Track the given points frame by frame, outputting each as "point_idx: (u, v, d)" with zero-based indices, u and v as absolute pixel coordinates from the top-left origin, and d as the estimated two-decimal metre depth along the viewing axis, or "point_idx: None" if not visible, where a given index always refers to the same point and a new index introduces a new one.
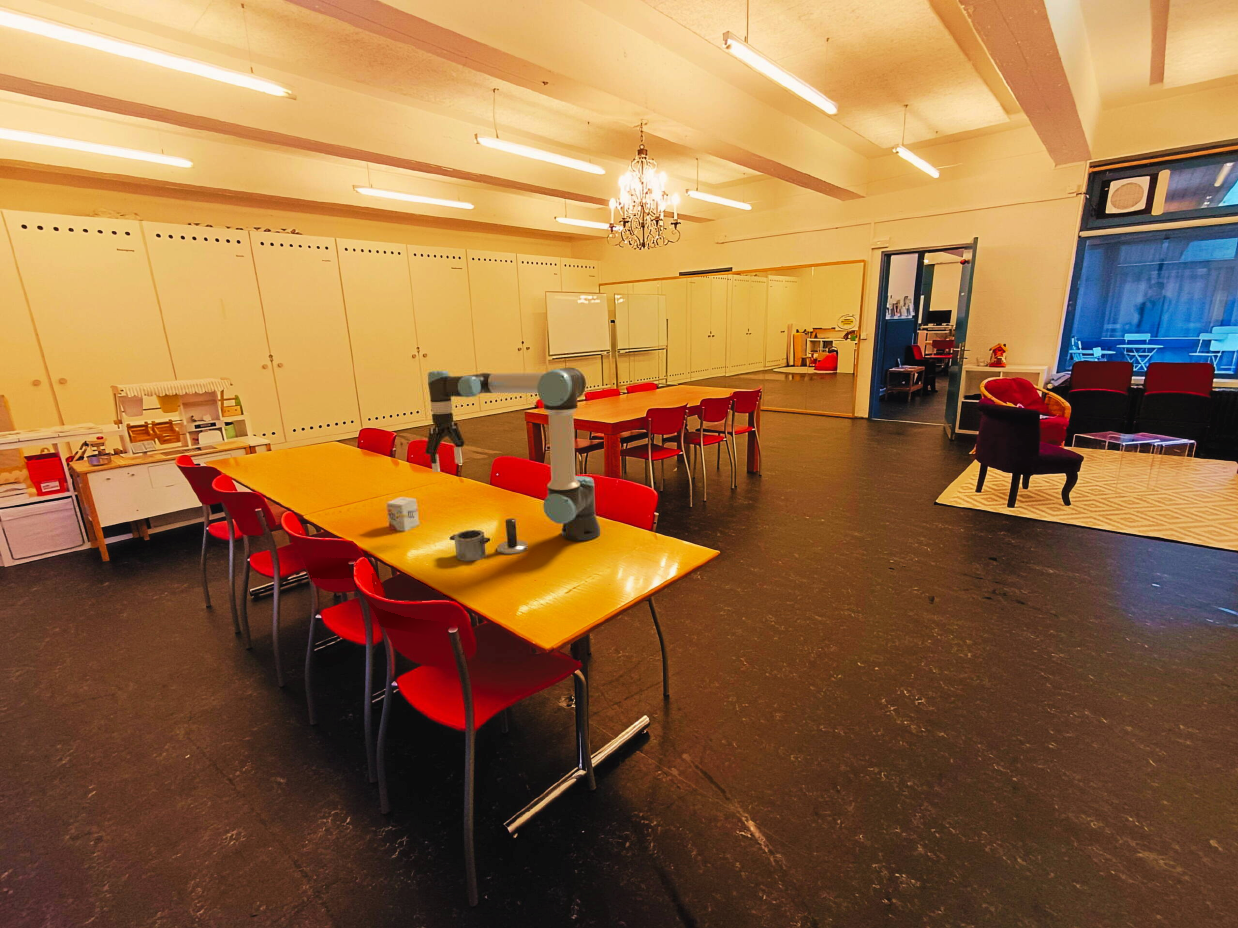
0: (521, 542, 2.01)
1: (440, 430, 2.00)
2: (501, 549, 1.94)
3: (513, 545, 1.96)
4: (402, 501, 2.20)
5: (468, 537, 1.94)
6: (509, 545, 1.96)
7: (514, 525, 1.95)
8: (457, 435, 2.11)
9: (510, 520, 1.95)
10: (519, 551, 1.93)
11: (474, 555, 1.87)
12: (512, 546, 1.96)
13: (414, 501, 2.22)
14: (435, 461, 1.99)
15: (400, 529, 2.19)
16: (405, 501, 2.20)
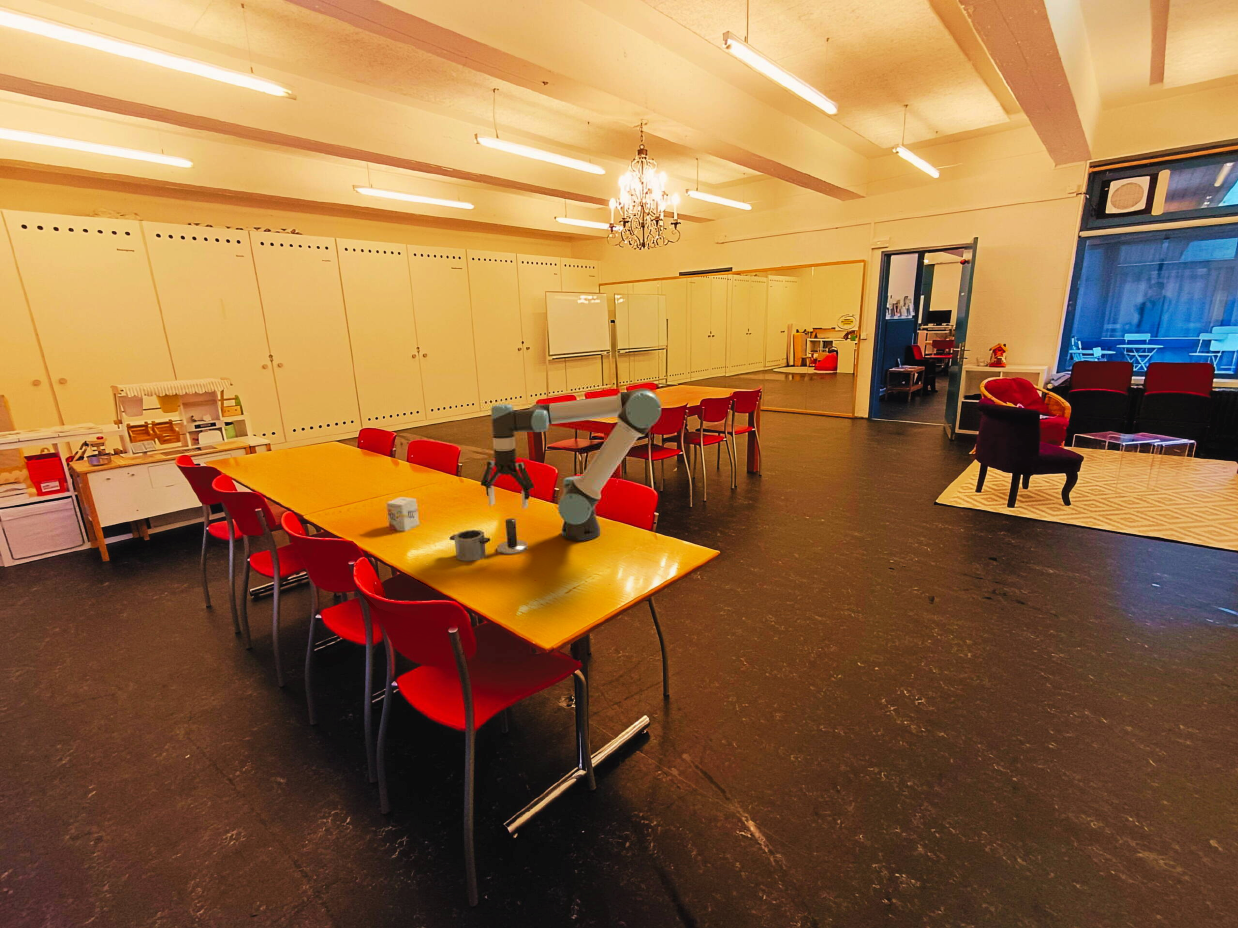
0: (521, 542, 2.01)
1: (496, 465, 1.91)
2: (501, 549, 1.94)
3: (513, 545, 1.96)
4: (402, 501, 2.20)
5: (468, 537, 1.94)
6: (509, 545, 1.96)
7: (514, 525, 1.95)
8: None
9: (510, 520, 1.95)
10: (519, 551, 1.93)
11: (474, 555, 1.87)
12: (512, 546, 1.96)
13: (414, 501, 2.22)
14: None
15: (400, 529, 2.19)
16: (405, 501, 2.20)
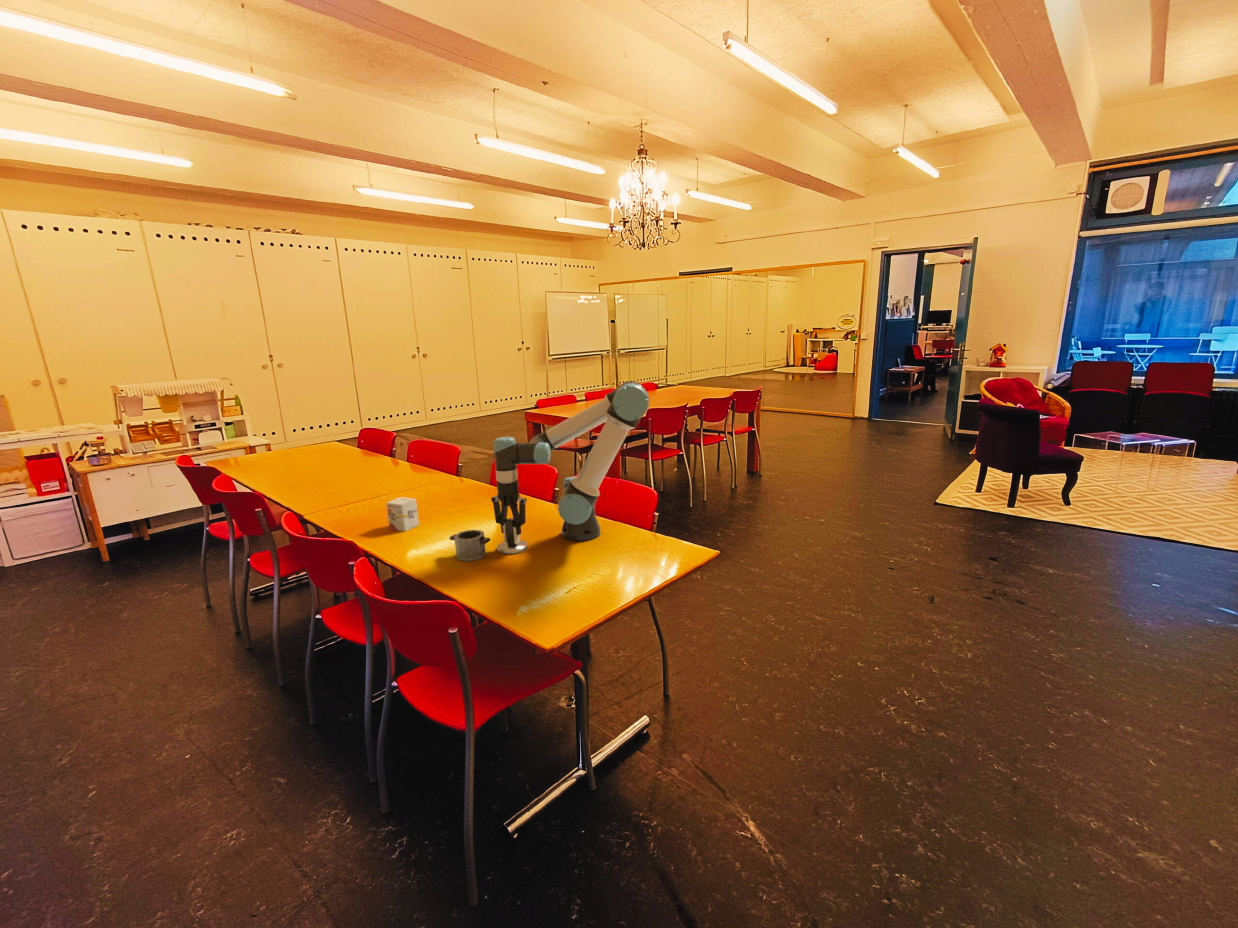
0: (521, 541, 2.01)
1: (499, 497, 1.93)
2: (501, 549, 1.94)
3: (513, 545, 1.96)
4: (402, 501, 2.20)
5: (468, 537, 1.94)
6: (509, 545, 1.96)
7: (514, 525, 1.95)
8: None
9: (510, 520, 1.95)
10: (519, 551, 1.93)
11: (474, 555, 1.87)
12: (512, 546, 1.96)
13: (414, 501, 2.22)
14: None
15: (400, 529, 2.19)
16: (405, 501, 2.20)
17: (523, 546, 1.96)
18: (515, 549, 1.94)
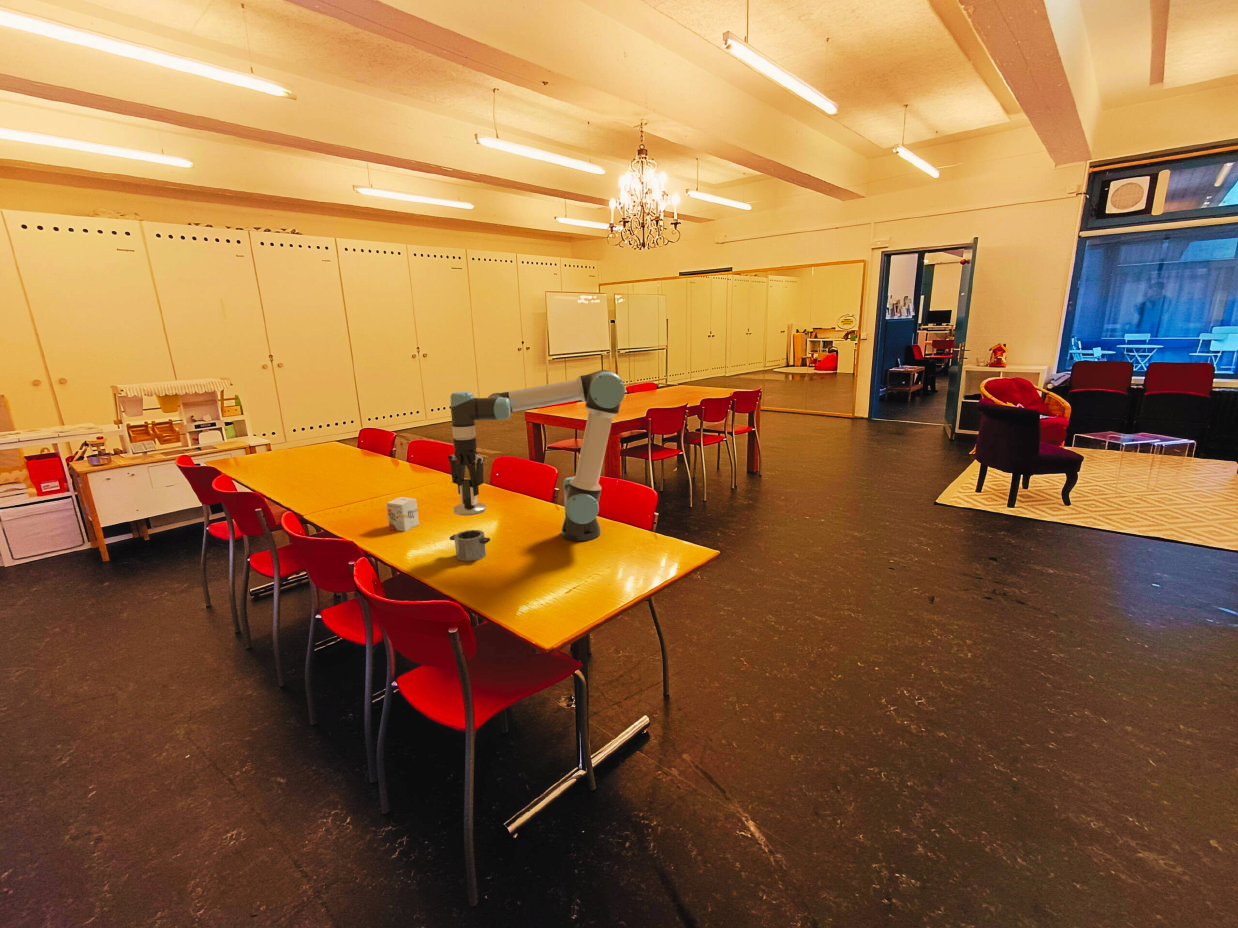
0: (479, 504, 1.92)
1: (456, 456, 1.84)
2: (457, 510, 1.85)
3: (470, 506, 1.87)
4: (402, 501, 2.20)
5: (468, 537, 1.94)
6: (466, 506, 1.87)
7: (471, 485, 1.86)
8: None
9: (467, 480, 1.86)
10: (475, 512, 1.84)
11: (474, 555, 1.87)
12: (469, 507, 1.87)
13: (414, 501, 2.22)
14: None
15: (400, 529, 2.19)
16: (405, 501, 2.20)
17: (480, 508, 1.87)
18: (471, 510, 1.85)
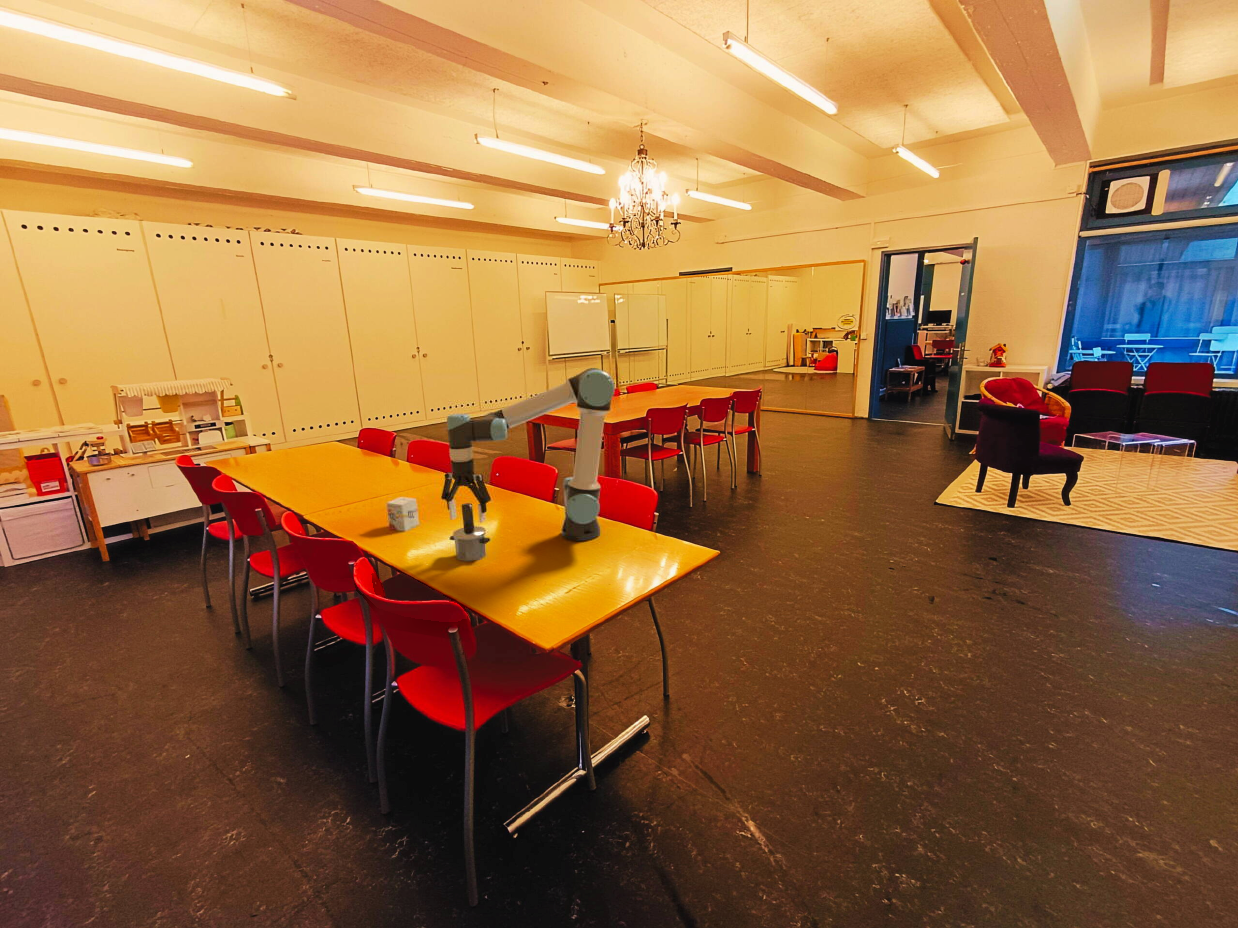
0: (479, 528, 1.93)
1: (453, 477, 1.85)
2: (457, 535, 1.87)
3: (470, 531, 1.88)
4: (402, 501, 2.20)
5: None
6: (465, 531, 1.88)
7: (470, 510, 1.87)
8: None
9: (466, 505, 1.87)
10: (475, 537, 1.86)
11: (474, 555, 1.87)
12: (469, 532, 1.88)
13: (414, 501, 2.22)
14: None
15: (400, 529, 2.19)
16: (405, 501, 2.20)
17: (480, 532, 1.89)
18: (471, 535, 1.86)
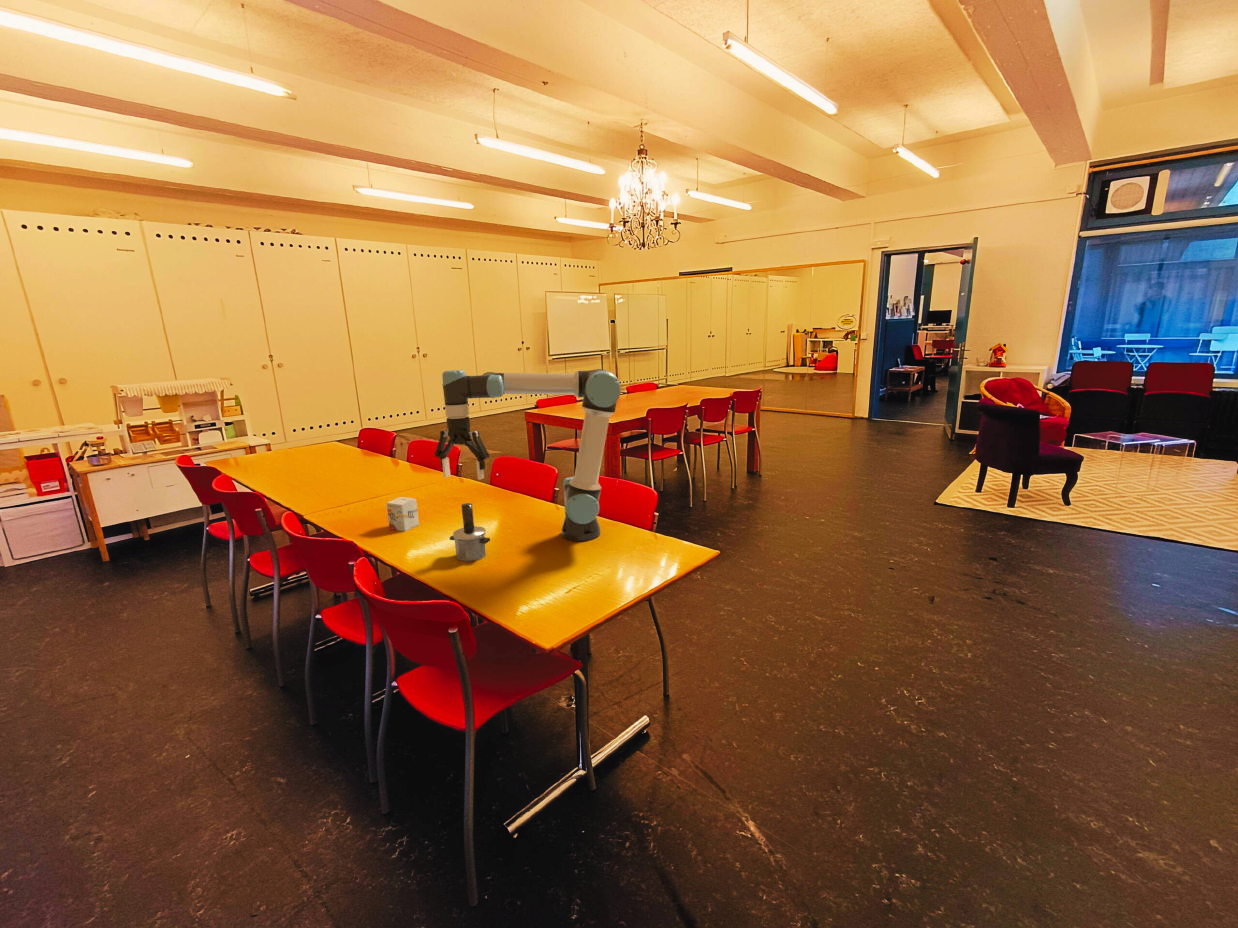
0: (479, 528, 1.93)
1: (449, 435, 1.82)
2: (457, 535, 1.87)
3: (470, 531, 1.88)
4: (402, 501, 2.20)
5: None
6: (465, 531, 1.88)
7: (470, 510, 1.87)
8: None
9: (466, 505, 1.87)
10: (475, 537, 1.86)
11: (474, 555, 1.87)
12: (469, 532, 1.88)
13: (414, 501, 2.22)
14: None
15: (400, 529, 2.19)
16: (405, 501, 2.20)
17: (480, 532, 1.89)
18: (471, 535, 1.86)
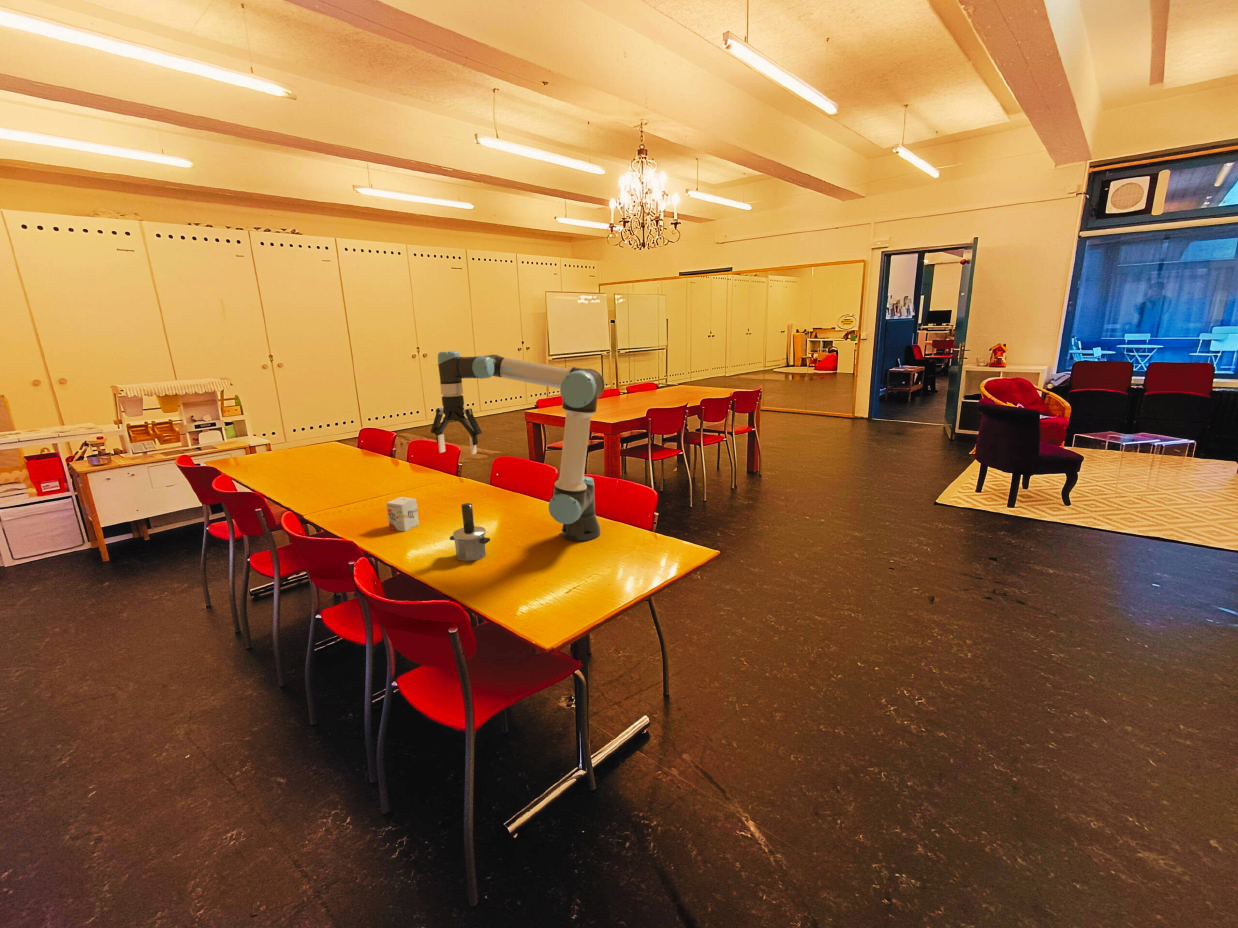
0: (479, 528, 1.93)
1: (444, 412, 1.95)
2: (457, 535, 1.87)
3: (470, 531, 1.88)
4: (402, 501, 2.20)
5: None
6: (465, 531, 1.88)
7: (470, 510, 1.87)
8: None
9: (466, 505, 1.87)
10: (475, 537, 1.86)
11: (474, 555, 1.87)
12: (469, 532, 1.88)
13: (414, 501, 2.22)
14: None
15: (400, 529, 2.19)
16: (405, 501, 2.20)
17: (480, 532, 1.89)
18: (471, 535, 1.86)
